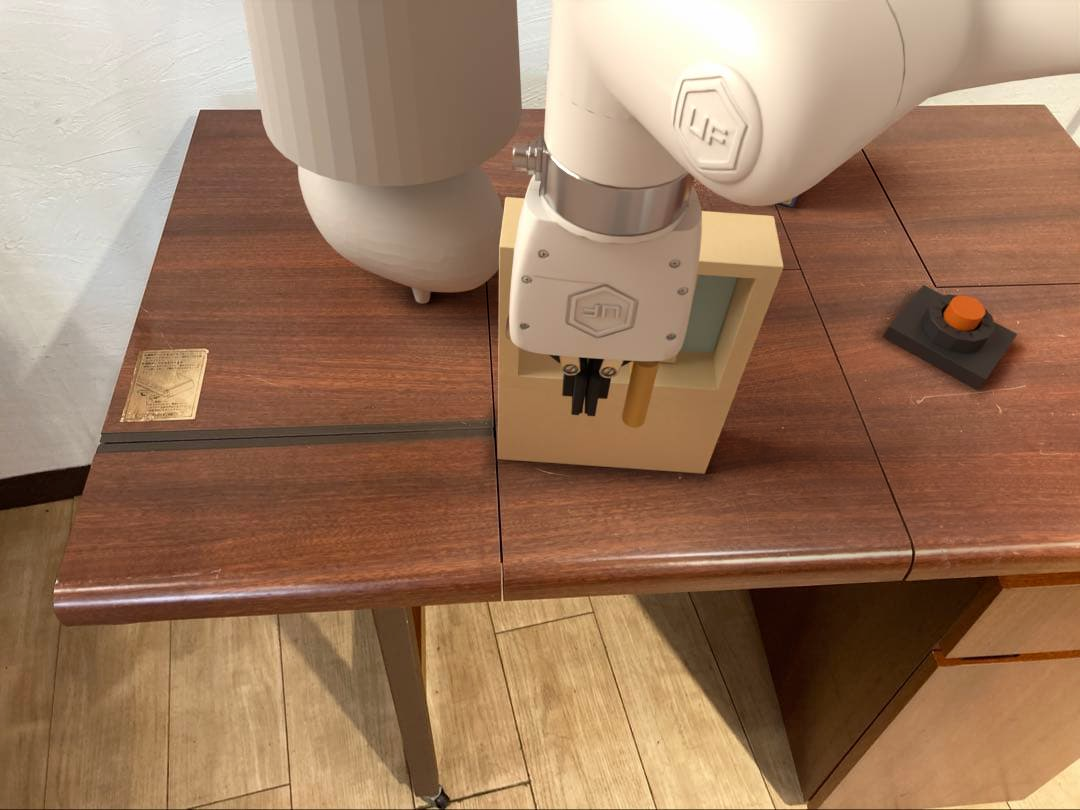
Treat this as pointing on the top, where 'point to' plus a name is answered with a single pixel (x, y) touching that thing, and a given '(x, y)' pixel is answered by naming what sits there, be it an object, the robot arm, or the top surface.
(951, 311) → the button
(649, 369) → the sash
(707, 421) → the window frame
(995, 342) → the button box
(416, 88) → the table lamp
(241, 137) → the top surface
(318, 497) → the top surface
